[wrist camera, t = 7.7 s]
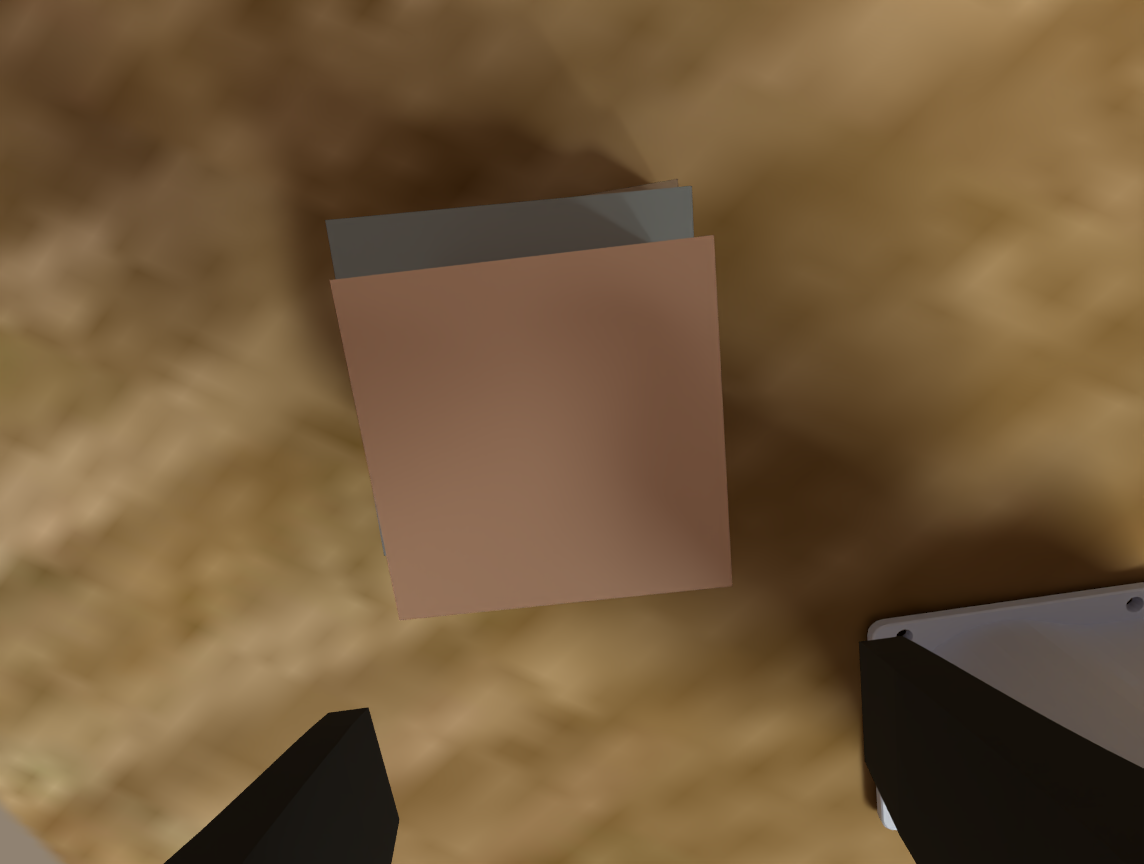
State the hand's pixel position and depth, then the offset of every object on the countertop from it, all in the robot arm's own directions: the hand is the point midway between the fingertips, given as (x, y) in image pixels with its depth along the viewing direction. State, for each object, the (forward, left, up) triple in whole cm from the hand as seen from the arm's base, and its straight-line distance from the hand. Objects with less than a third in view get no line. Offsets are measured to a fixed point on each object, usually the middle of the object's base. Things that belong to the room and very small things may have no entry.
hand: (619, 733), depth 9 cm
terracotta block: (0, -5, -5) cm, 7 cm away
